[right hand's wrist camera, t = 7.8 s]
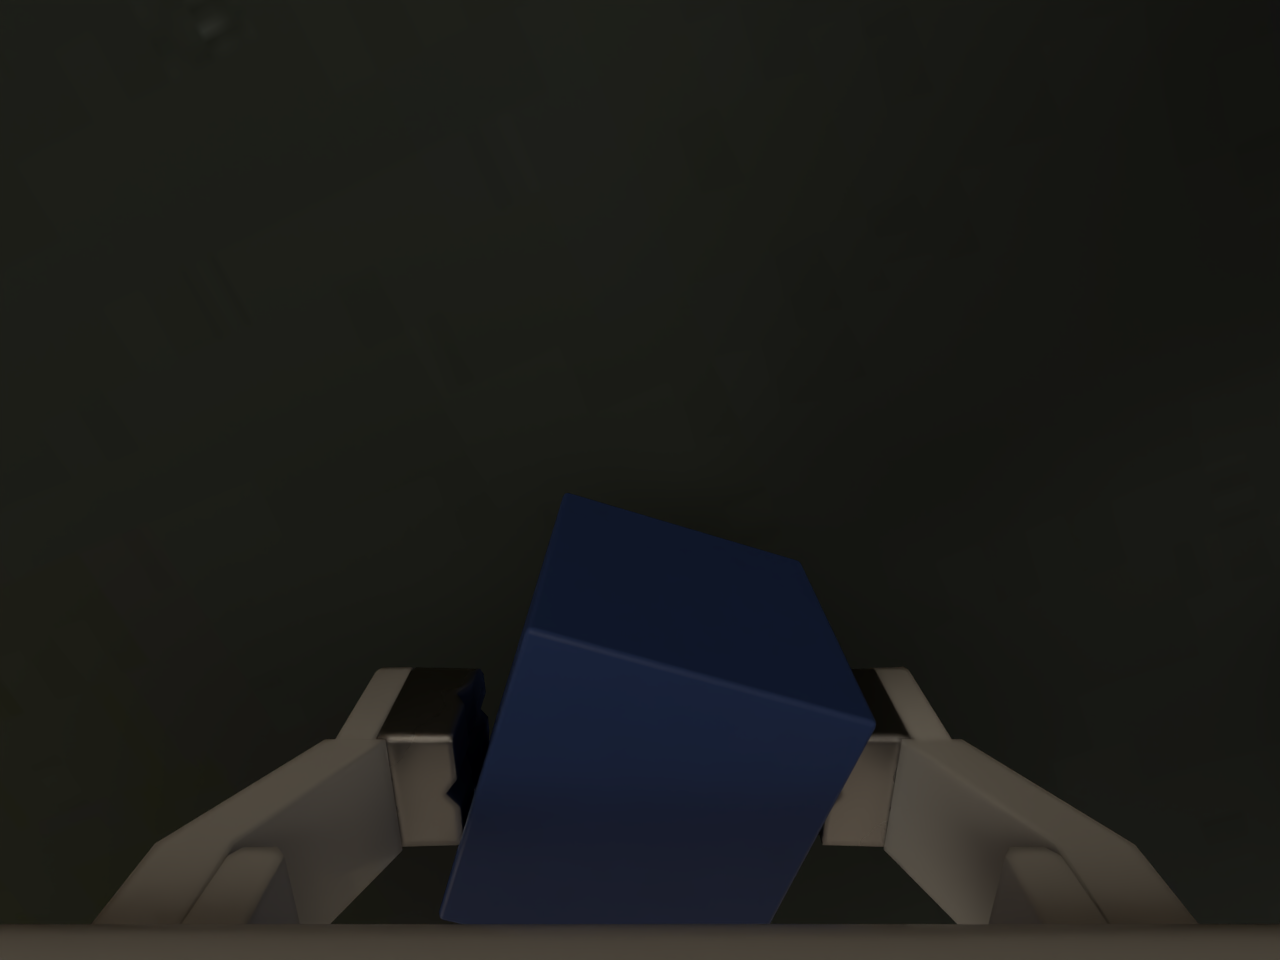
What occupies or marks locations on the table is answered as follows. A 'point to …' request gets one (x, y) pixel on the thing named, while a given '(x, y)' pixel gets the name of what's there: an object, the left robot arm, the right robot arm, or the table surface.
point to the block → (658, 734)
